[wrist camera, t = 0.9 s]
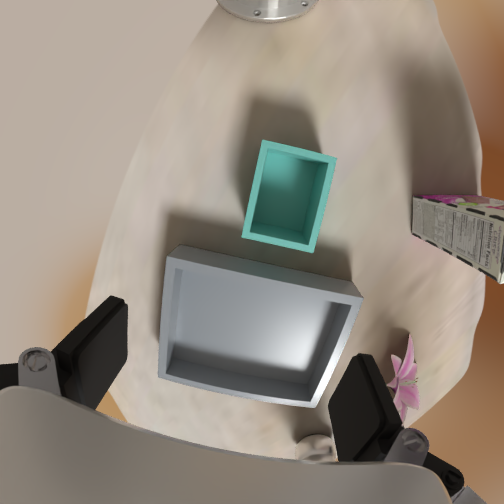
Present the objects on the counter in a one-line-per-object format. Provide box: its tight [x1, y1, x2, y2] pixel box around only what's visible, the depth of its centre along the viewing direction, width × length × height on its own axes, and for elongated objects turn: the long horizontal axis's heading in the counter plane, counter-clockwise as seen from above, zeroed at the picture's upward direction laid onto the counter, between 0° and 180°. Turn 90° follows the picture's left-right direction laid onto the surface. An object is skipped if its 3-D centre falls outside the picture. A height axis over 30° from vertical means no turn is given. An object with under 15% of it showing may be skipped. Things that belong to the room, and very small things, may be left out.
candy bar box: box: [412, 195, 504, 284], centre depth 21 cm, size 11×5×16 cm, turn 95°
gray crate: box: [158, 244, 364, 408], centre depth 32 cm, size 16×20×4 cm
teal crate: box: [241, 140, 337, 253], centre depth 27 cm, size 8×6×6 cm
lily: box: [386, 334, 420, 426], centre depth 32 cm, size 12×12×10 cm
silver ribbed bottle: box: [295, 435, 336, 462], centre depth 31 cm, size 6×7×20 cm
